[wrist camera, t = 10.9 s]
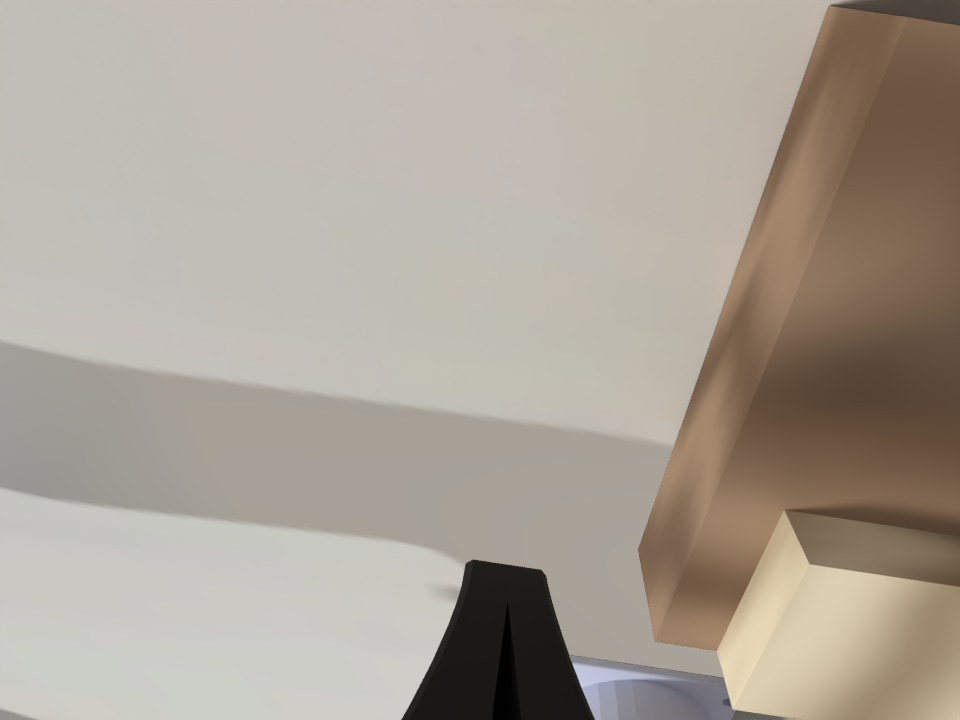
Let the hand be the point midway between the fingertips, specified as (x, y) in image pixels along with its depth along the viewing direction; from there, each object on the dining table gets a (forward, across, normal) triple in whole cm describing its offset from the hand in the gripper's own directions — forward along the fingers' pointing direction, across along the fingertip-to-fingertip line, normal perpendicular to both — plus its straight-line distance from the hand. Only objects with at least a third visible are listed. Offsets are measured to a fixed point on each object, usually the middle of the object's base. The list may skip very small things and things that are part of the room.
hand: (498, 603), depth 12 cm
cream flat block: (+6, -12, +5) cm, 15 cm away
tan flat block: (+10, -12, -1) cm, 16 cm away
